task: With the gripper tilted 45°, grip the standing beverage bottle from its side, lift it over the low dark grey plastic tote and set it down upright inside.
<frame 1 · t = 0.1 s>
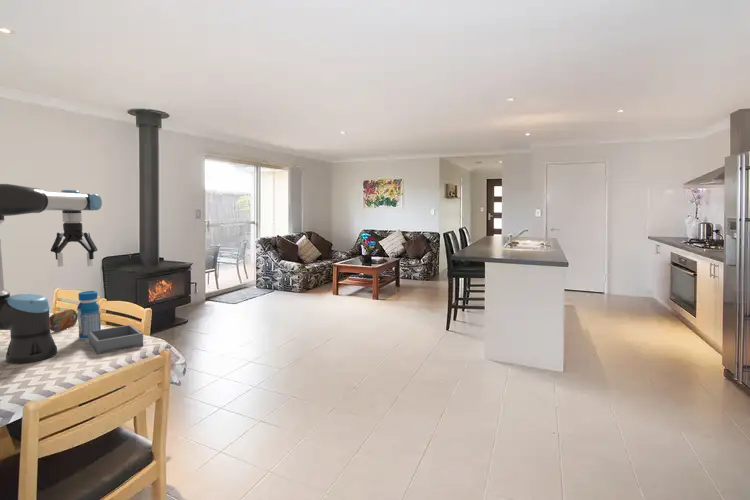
hand: (75, 266, 205), 28 cm above the table, tool pointing down, fingers open, 13 cm apart
tin: (63, 329, 196), on the table
tote: (115, 344, 175), on the table
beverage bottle: (90, 337, 184), on the table
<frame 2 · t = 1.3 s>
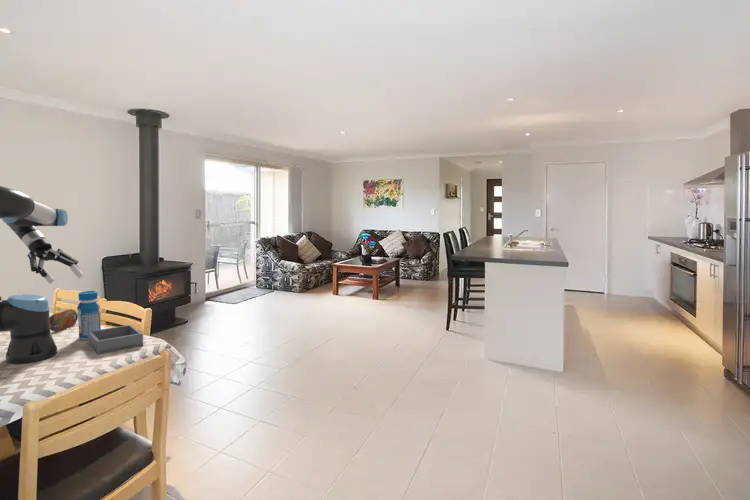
hand: (67, 278, 184), 25 cm above the table, tool tilted 45°, fingers open, 13 cm apart
nothing on the table moved.
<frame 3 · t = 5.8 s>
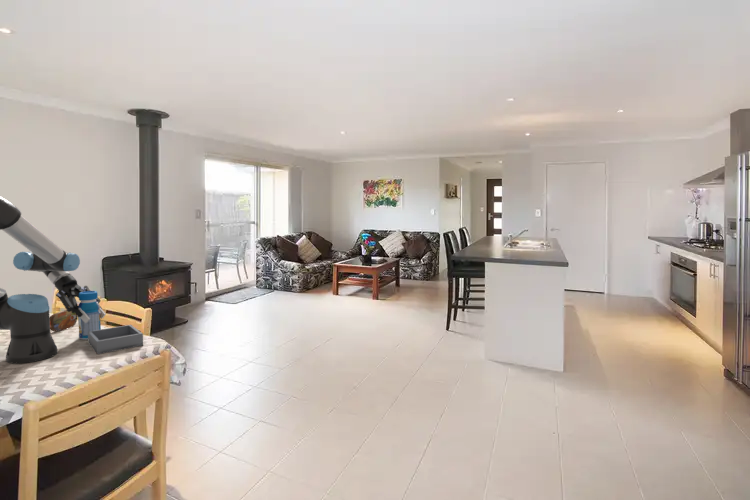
hand: (95, 318, 182), 9 cm above the table, tool tilted 45°, fingers closed on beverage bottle, 7 cm apart
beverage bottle: (90, 337, 184), on the table, touching gripper
everything else where it was.
when the fingers open (11 cm above the table, at t = 12.5 s): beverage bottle drops 1 cm, resting on tote.
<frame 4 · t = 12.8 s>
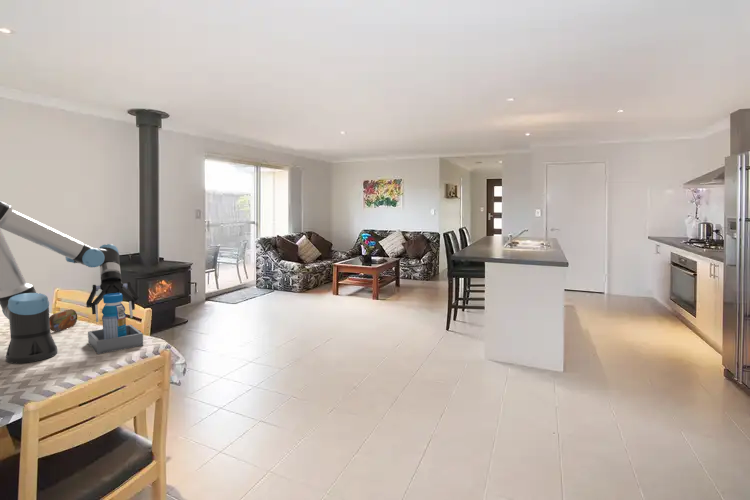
hand: (114, 318, 172), 12 cm above the table, tool tilted 45°, fingers open, 11 cm apart
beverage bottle: (115, 342, 175), point 1 cm above the table, touching tote
everything else where it was.
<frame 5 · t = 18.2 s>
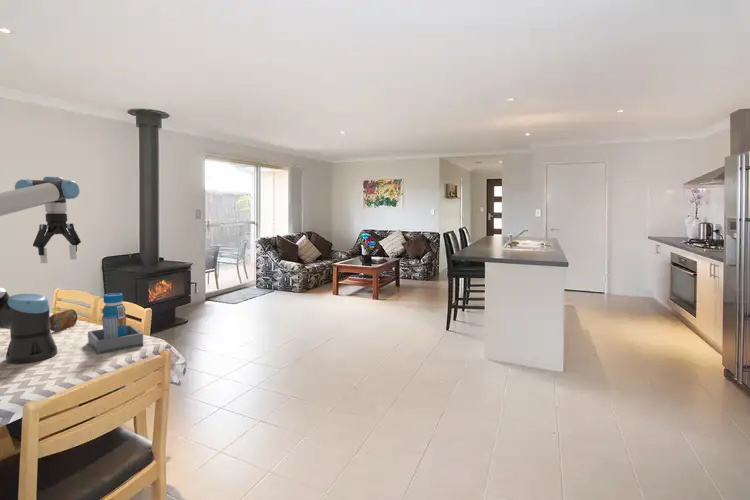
hand: (59, 261, 186), 33 cm above the table, tool pointing down, fingers open, 13 cm apart
nothing on the table moved.
at the end: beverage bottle inside the target area on the tote (0.1 cm from its centre), point 0.8 cm above the tote's base; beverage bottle tilted 0°; the gripper is holding nothing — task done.
